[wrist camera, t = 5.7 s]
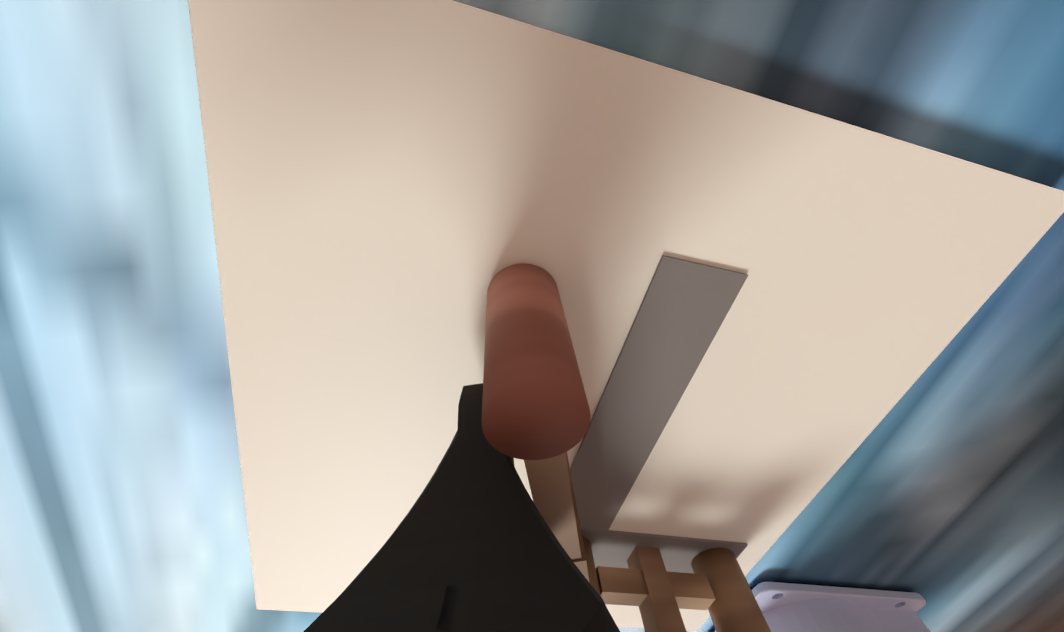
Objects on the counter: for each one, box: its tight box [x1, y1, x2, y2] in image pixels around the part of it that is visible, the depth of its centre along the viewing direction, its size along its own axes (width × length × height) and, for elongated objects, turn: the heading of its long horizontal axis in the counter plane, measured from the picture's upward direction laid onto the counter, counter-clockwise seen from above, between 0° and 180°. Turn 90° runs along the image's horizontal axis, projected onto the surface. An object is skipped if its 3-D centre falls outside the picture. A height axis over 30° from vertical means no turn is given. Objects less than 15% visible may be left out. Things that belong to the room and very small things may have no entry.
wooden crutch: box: [482, 263, 591, 582], centre depth 11 cm, size 11×2×4 cm, turn 8°
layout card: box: [188, 0, 1064, 631], centre depth 14 cm, size 20×22×1 cm
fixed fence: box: [582, 536, 771, 632], centre depth 15 cm, size 8×2×5 cm, turn 76°
